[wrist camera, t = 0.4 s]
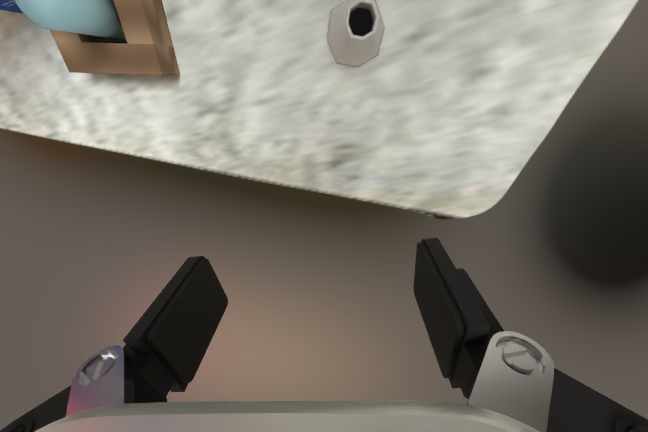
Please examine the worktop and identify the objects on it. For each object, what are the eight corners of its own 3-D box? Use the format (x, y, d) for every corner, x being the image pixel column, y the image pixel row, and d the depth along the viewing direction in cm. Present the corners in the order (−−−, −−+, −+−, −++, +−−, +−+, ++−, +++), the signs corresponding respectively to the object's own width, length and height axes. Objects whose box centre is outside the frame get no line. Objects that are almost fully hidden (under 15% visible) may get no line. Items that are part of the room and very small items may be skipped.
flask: (331, 72, 33) (329, 72, 24) (322, 3, 29) (315, -25, 21) (385, 61, 32) (402, 58, 23) (382, -11, 28) (402, -46, 20)
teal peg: (94, -6, 30) (-4, -36, 21) (130, -5, 30) (46, -35, 21) (110, 39, 32) (28, 28, 23) (143, 40, 32) (73, 29, 23)
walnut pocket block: (47, -50, 28) (7, -66, 24) (149, -48, 27) (122, -65, 24) (96, 71, 34) (69, 72, 31) (179, 74, 34) (162, 74, 30)
